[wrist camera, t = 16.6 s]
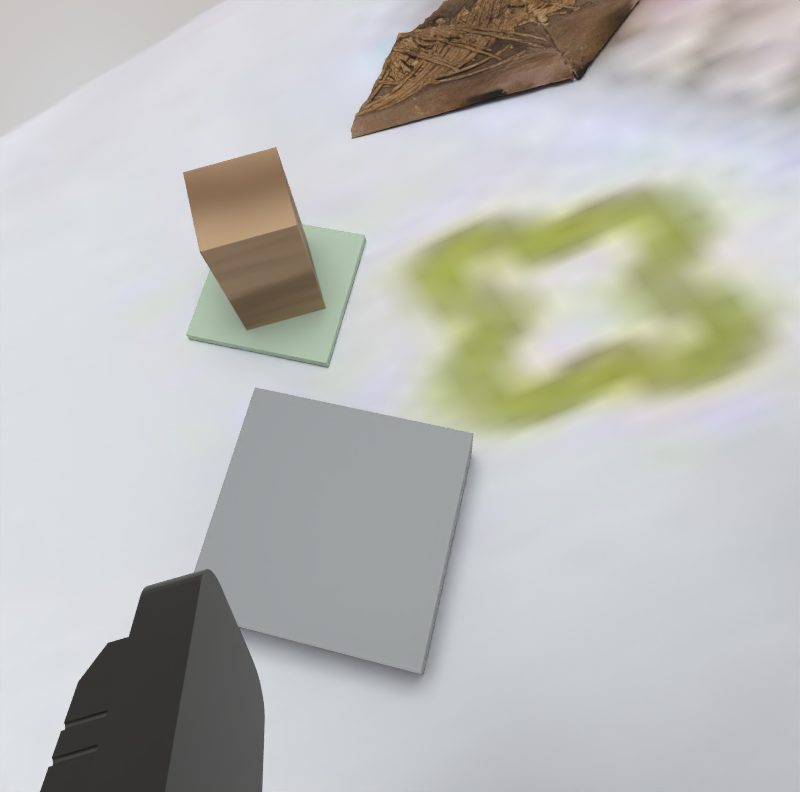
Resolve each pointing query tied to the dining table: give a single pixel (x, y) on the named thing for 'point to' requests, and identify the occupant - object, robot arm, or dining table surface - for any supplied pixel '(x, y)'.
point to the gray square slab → (338, 527)
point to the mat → (293, 336)
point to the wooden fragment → (486, 55)
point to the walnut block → (254, 238)
